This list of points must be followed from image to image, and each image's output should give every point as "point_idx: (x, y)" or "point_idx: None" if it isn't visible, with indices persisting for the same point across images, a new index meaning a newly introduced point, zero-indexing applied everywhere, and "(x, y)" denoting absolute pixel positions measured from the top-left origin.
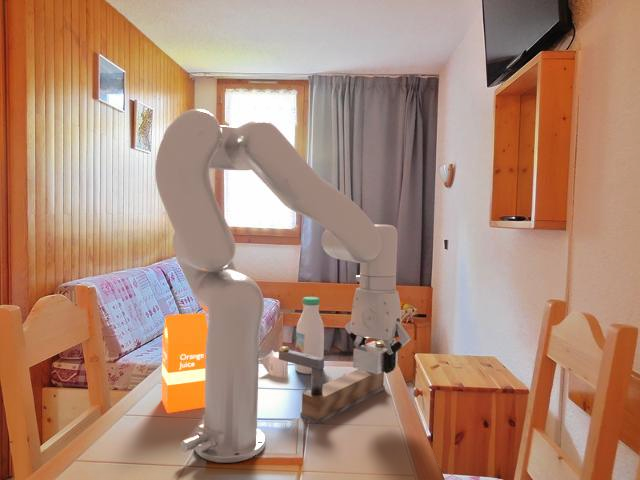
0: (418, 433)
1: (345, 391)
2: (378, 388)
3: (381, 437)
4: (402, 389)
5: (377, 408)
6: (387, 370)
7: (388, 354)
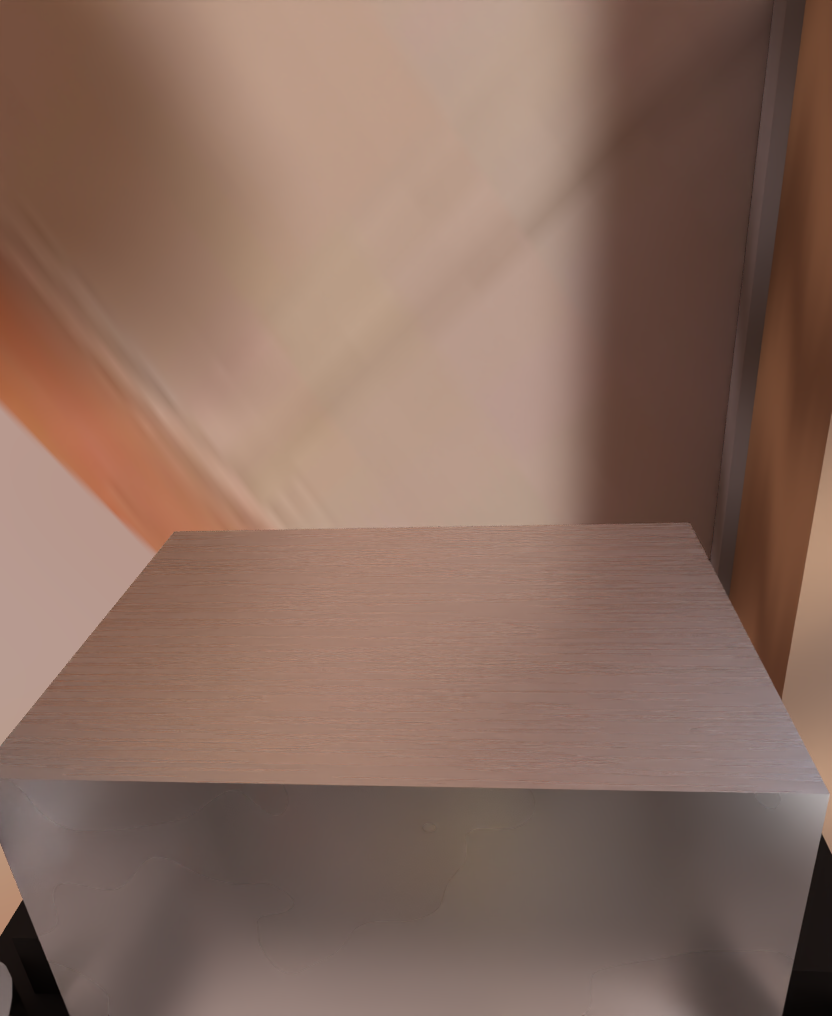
0: (83, 466)
1: (793, 500)
2: None
3: (202, 211)
4: None
5: None
6: None
7: (31, 965)
